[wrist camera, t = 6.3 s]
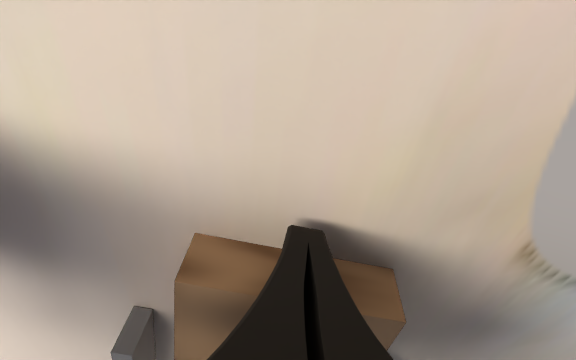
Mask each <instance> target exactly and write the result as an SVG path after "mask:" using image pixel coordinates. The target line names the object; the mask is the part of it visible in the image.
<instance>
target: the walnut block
mask: <svg viewBox="0 0 576 360" xmlns="http://www.w3.org/2000/svg"><path fill="white" fill-rule="evenodd" d="M281 252H282V249H280V248H274V247H269V246H263V245H258V244H253V243H247V242H242V241H236V240H231V239H225V238H220V237H214V236H209V235H203V234H198V233H195V234H194V237H193V239H192V241H191V244H190V246H189V248H188V251H187V253H186V256H185V258H184V260H183V263H182V265H181V267H180V270H179V272H178V274H177V277H176V279H175V288H174V360H207V359H208V358H209V357H210V355H211V354H212V353H213V352H214V351H215V350H216V349H217V348H218V347H219V346H220V345H221V344H222V342H223V341H224V340H225V339H226V338H227V337H228V335H229V334H230V333H231V332H232V330H233V329H234V328H235V327H236V326H237V324H238V323H239V322H240V321H241V319H242V318H243V317H244V315H245V314H246V312H247V311H248V310H249V308H250V307H251V305H252V304H253V303H254V301H255V300H256V298H257V297H258V295H259V294H260V292H261V290H262V289H263V287H264V285H265V284H266V282H267V280H268V278H269V277H270V275H271V273H272V271H273V269H274V267H275V265H276V263H277V261H278V259H279V257H280V254H281ZM333 259H334V258H333ZM334 262H335V264H336V267H337V269H338V271H339V273H340V275H341V278H342V280H343V282H344V284H345V286H346V288H347V290H348V292H349V293H350V295H351V297H352V299H353V301H354V303H355V305H356V306H357V308H358V310H359V311H360V313H361V315H362V316H363V318H364V319H365V321H366V323H367V324H368V326H369V327H370V329H371V330H372V331H373V333H374V334H375V336H376V337H377V339H378V340H379V341H380V343H381V344H382V345H383V347H384V348H385V349H386V351H387V350H388V348H389V347H390V345H391V344H392V342H393V341H394V340H395V338H396V337H397V335H398V334H399V332H400V331H401V329H402V328H403V327H404V325H405V324H406V320H405V316H404V312H403V308H402V304H401V300H400V296H399V292H398V288H397V284H396V280H395V276H394V272H393V269H389V268H384V267H378V266H373V265H367V264H362V263H356V262H351V261H345V260H340V259H334Z"/></svg>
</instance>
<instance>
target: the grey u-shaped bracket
mask: <svg viewBox="0 0 576 360" xmlns="http://www.w3.org/2000/svg"><path fill="white" fill-rule="evenodd" d="M111 356H112V360H156V356H155V339H154V323H153V309H147V308H141V307H135V306H134V307H133V309H132V311H131V313H130V315H129V317H128V319H127V321H126V323H125V325H124V327H123V329H122V331H121V333H120V335H119V337H118V339H117V341H116V343H115V345H114V347H113V349H112V351H111Z"/></svg>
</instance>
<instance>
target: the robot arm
mask: <svg viewBox="0 0 576 360" xmlns="http://www.w3.org/2000/svg"><path fill="white" fill-rule="evenodd" d="M207 360H393V359H392V357H391V356H390V355H389V353H388V352H387V351H386V349H385V348H384V347H383V345H382V344H381V343H380V341H379V340H378V339H377V337H376V336H375V334H374V333H373V331H372V330H371V329H370V327H369V326H368V324H367V323H366V321H365V319H364V318H363V316H362V315H361V313H360V311H359V310H358V308H357V306H356V305H355V303H354V301H353V299H352V297H351V295H350V293H349V292H348V290H347V288H346V286H345V284H344V282H343V280H342V278H341V275H340V273H339V271H338V269H337V267H336V264H335V262H334V259H333V257H332V254H331V252H330V249H329V247H328V244H327V241H326V238H325V235H324V233H323V231H321V230H315V229H310V228H305V227H299V226H294V225H291V226H289V227H288V229H287V233H286V237H285V241H284V244H283V248H282V252H281V254H280V257H279V259H278V261H277V263H276V265H275V267H274V269H273V271H272V273H271V275H270V277H269V278H268V280H267V282H266V284H265V285H264V287H263V289H262V290H261V292H260V294H259V295H258V297H257V298H256V300H255V301H254V303H253V304H252V305H251V307H250V308H249V310H248V311H247V312H246V314H245V315H244V317H243V318H242V319H241V321H240V322H239V323H238V324H237V326H236V327H235V328H234V329H233V330H232V332H231V333H230V334H229V335H228V337H227V338H226V339H225V340H224V341H223V342H222V344H221V345H220V346H219V347H218V348H217V349H216V350H215V351H214V352H213V353H212V354H211V355H210V357H209V358H208V359H207Z"/></svg>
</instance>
